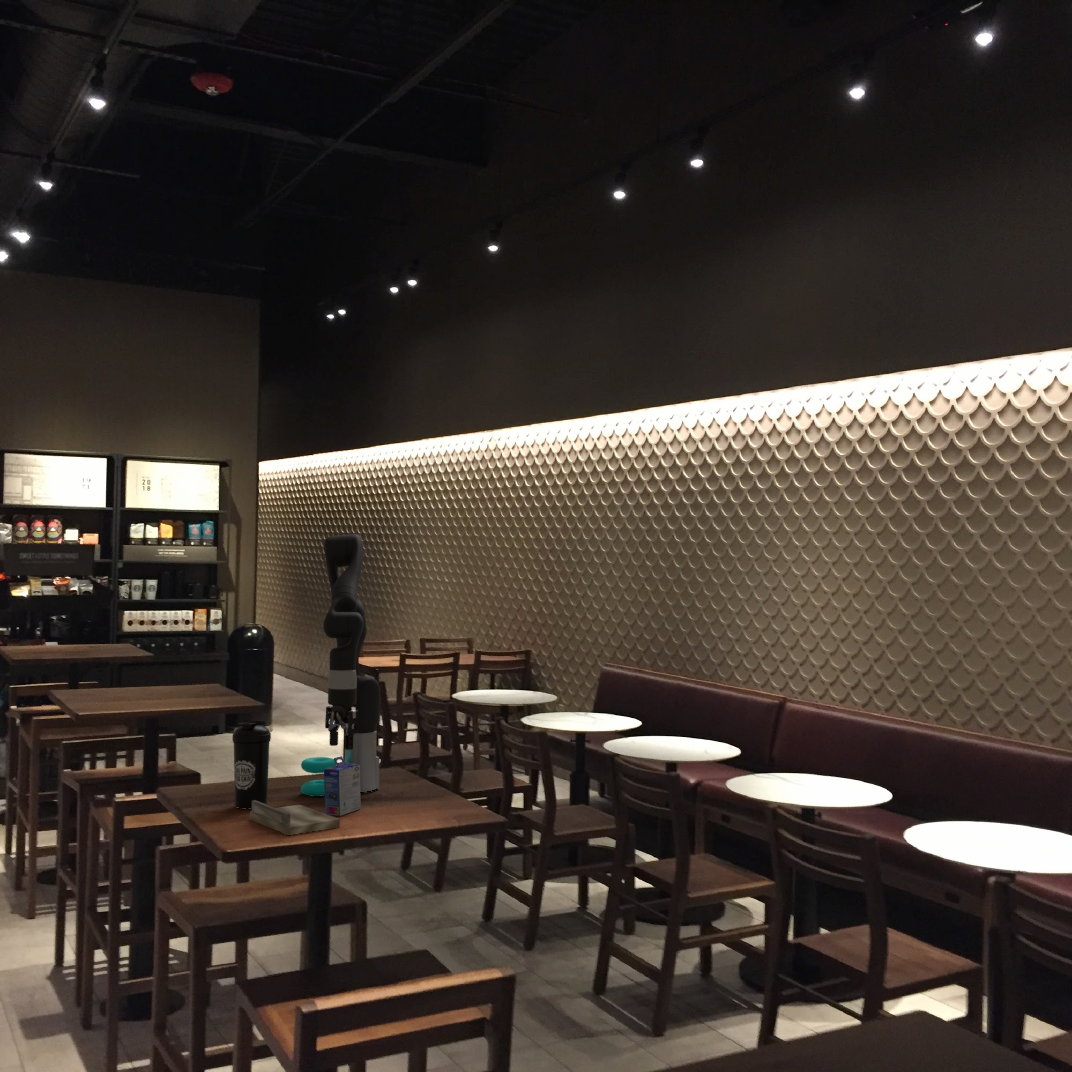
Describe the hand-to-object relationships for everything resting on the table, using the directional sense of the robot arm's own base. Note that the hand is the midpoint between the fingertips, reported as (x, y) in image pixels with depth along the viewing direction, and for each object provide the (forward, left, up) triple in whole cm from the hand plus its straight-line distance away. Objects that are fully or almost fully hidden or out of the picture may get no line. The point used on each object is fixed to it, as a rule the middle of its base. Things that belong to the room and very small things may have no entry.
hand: (341, 747), depth 286 cm
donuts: (-6, -25, -17) cm, 31 cm away
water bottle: (+16, -22, -17) cm, 32 cm away
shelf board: (+16, +4, -17) cm, 24 cm away
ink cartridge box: (0, 0, -17) cm, 17 cm away
